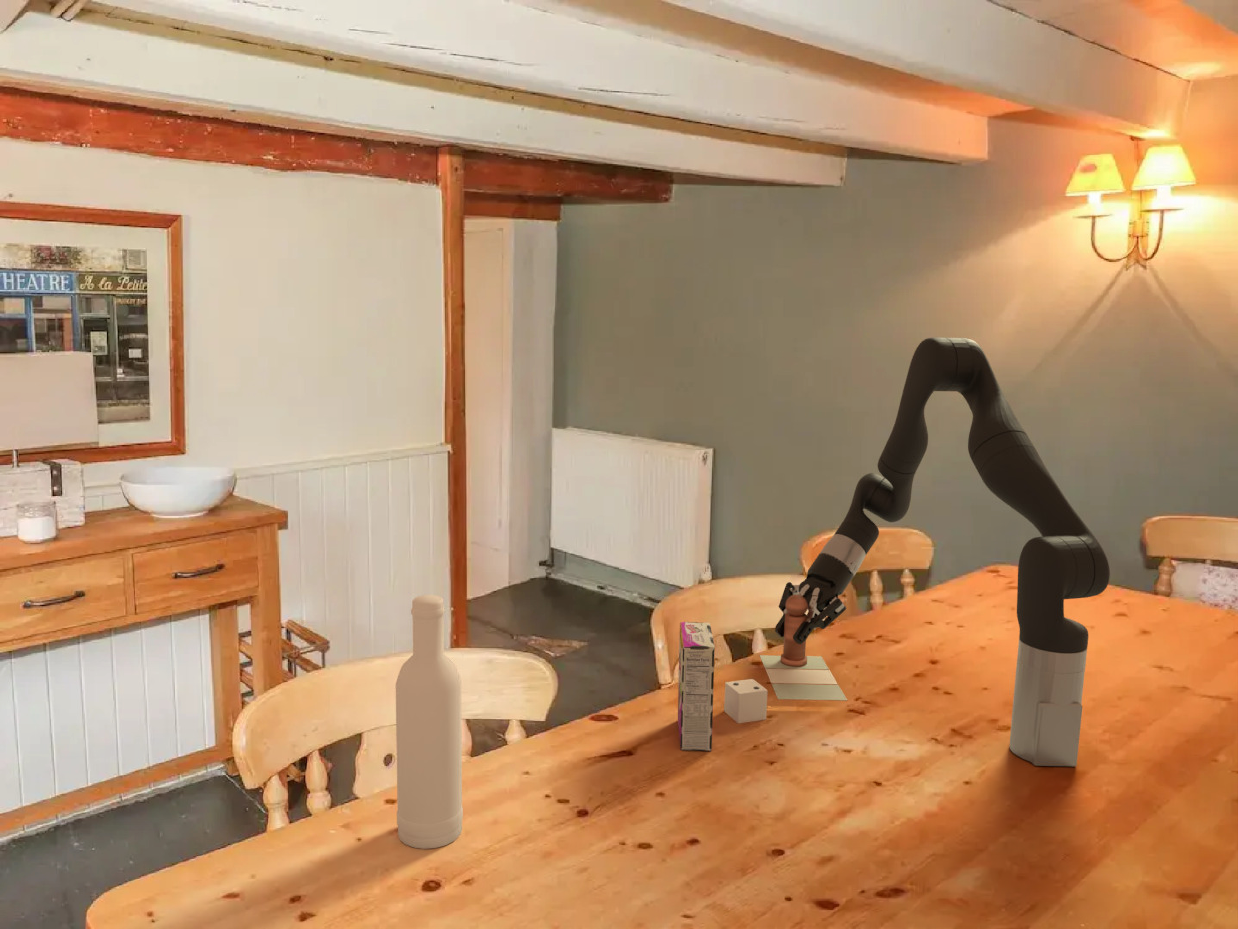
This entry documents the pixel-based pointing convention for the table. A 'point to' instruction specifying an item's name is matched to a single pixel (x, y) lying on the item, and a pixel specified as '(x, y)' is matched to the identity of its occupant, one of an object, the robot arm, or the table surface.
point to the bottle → (429, 735)
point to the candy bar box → (695, 686)
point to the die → (745, 701)
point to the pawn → (793, 620)
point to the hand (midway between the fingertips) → (787, 637)
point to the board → (802, 679)
